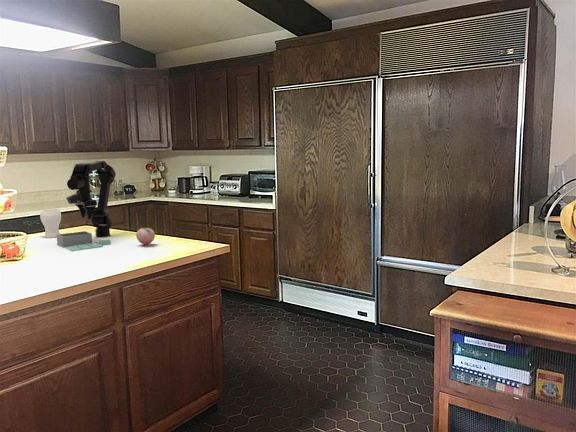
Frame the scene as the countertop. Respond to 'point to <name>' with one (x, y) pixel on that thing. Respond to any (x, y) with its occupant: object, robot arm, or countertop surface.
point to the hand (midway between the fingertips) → (86, 218)
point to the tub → (74, 239)
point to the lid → (89, 245)
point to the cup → (51, 221)
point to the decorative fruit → (145, 235)
